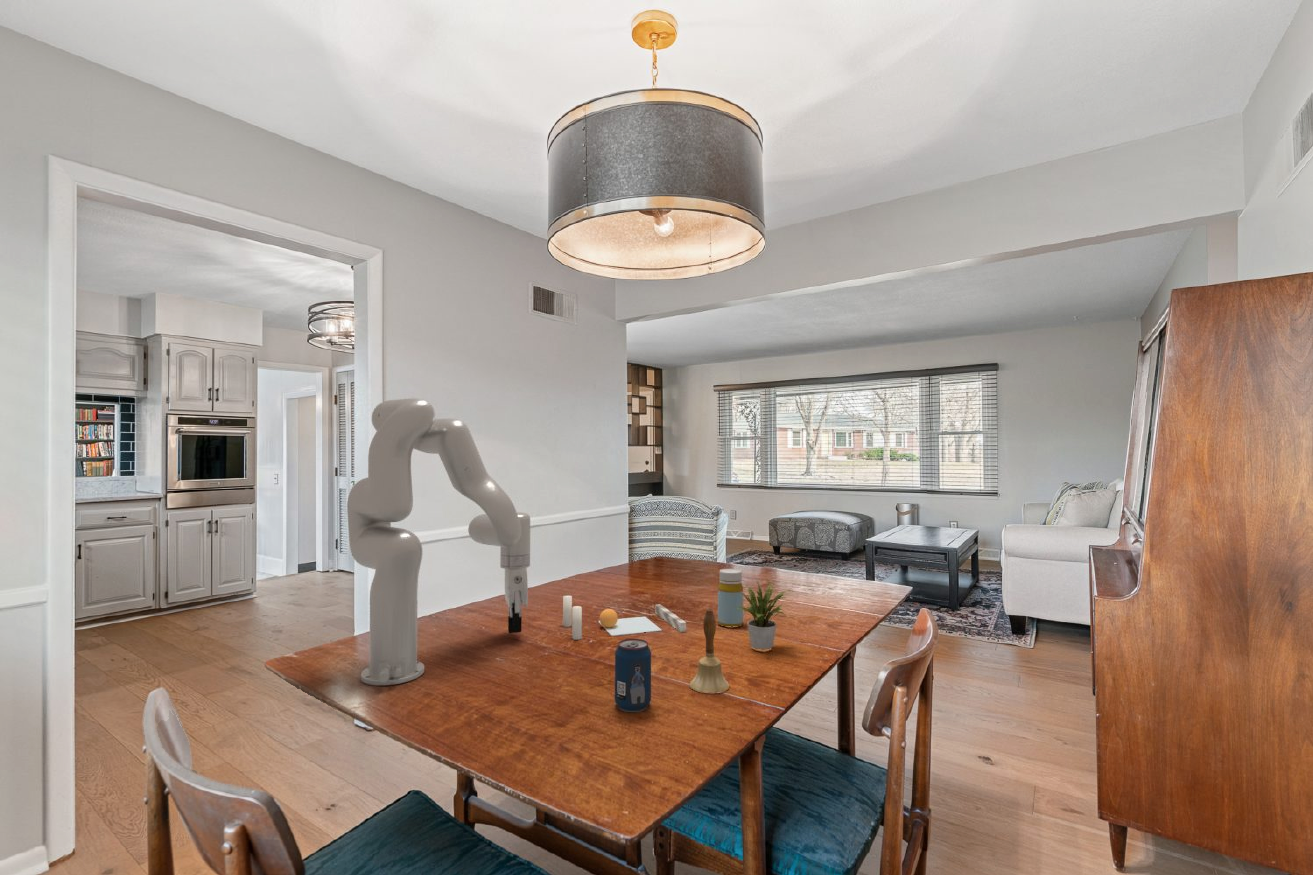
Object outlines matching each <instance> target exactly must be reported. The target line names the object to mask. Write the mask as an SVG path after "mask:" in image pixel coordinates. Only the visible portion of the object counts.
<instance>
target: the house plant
mask: <svg viewBox="0 0 1313 875" xmlns="http://www.w3.org/2000/svg"><path fill="white" fill-rule="evenodd" d="M756 582H757V587H758V590H755V592H756V594H757V595H756V594H755V592H754V590H753V589H752V588H751V587H750V586H749V585H747V584H745V586H746V589H747V591H748V593H749V596H748V595H746V593H744V592H743V593H742V592H741V591H740V592H741V593H742V594H743V598H745V599H746V600H747V601H748V604H749V605H750V606H746V607H745V606H743V607H738V608H737V609H743V611H746V612H748V613H750V614H751V615H752V617H753V619H751V620H748V621H747V629H748V630H747V631H748V637H749V642H750V647H751V646H752V647H753V648H755V649H761V650H765V649H770V648H772V647H774V641H775V638H776V637H775V636H776V630H777V623H776V622H775V621H773V620H771V619H774V618H775V617H776V616H777V615H778V614H781V615H784V616H786V614H785V612H784V611H782V610H783V609H781V607H782V606H784V604H780V605H777V606H776V603H777V602H779V601H780V600H781V599H785V598H786V595H789V594H787V592H788V593H789V592H791V591H792V589H791V590H790V589H788V590H786V591H785V590H784V591H782V592H781V593H779V594H777V595H776V596H775V597H774V598H773V599H771V597H772V595H773V592H772V591H773V589H774V585H771V582H769V584H768V586H767V588H766V590H765V592H764V595H763V591H762V588H761V585H760V583H759V582H758V581H756ZM780 602H781V601H780ZM787 605H788V604H785V606H787ZM775 613H776V614H775ZM773 614H775V615H774V616H773ZM772 616H773V617H772ZM771 617H772V618H771Z"/></svg>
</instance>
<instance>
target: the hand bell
mask: <svg viewBox="0 0 1313 875" xmlns="http://www.w3.org/2000/svg"><path fill="white" fill-rule="evenodd" d="M702 627H703V635H704V637H705V656H703V657H702V658H700V659H699V661H698V668H697V671H696V673H695V674H696V675H695V676H694V678H693V679H692V680H691V681H690V683H689V688H690V689H691V690H692V689H693V690H692V691H694V690H695V691H694V692H696V691H697V693H699V692H700V694H703V693H717V692H721V691H724V690H726V689H728V688H729V686H730V683H729V682H728V681H727V680H726V679H725V677H724V674H723V671H722V662H721V660H720V659H719V658H717V657H715V649H714V648H715V647H714V638H715V635H716V631H717V629H716V628H717V622H716V618H715V615H714V611H713V609H712V608H709V609H708V608H707V609H706V610H705V615H704V617H703V625H702ZM729 689H730V688H729Z"/></svg>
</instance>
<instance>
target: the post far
mask: <svg viewBox="0 0 1313 875" xmlns="http://www.w3.org/2000/svg"><path fill="white" fill-rule="evenodd" d="M572 607H573V595H563V596H562V626H563V627H564V628H569V627H572Z"/></svg>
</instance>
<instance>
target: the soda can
mask: <svg viewBox="0 0 1313 875" xmlns="http://www.w3.org/2000/svg"><path fill="white" fill-rule="evenodd" d="M617 645H618V646H617V647H616V650H615V651H614V701H615V704H616V705H617V707H618V709H619V710H621V711H623V712H627V713H639V712H643V711H645V710H646V709H647V708H648V706H649V705H650V703H651V701H652V651H651V648H650V646H649V643H648V641H647V640H644V639H641V638H625V639H622V640H620V641H618V643H617Z"/></svg>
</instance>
